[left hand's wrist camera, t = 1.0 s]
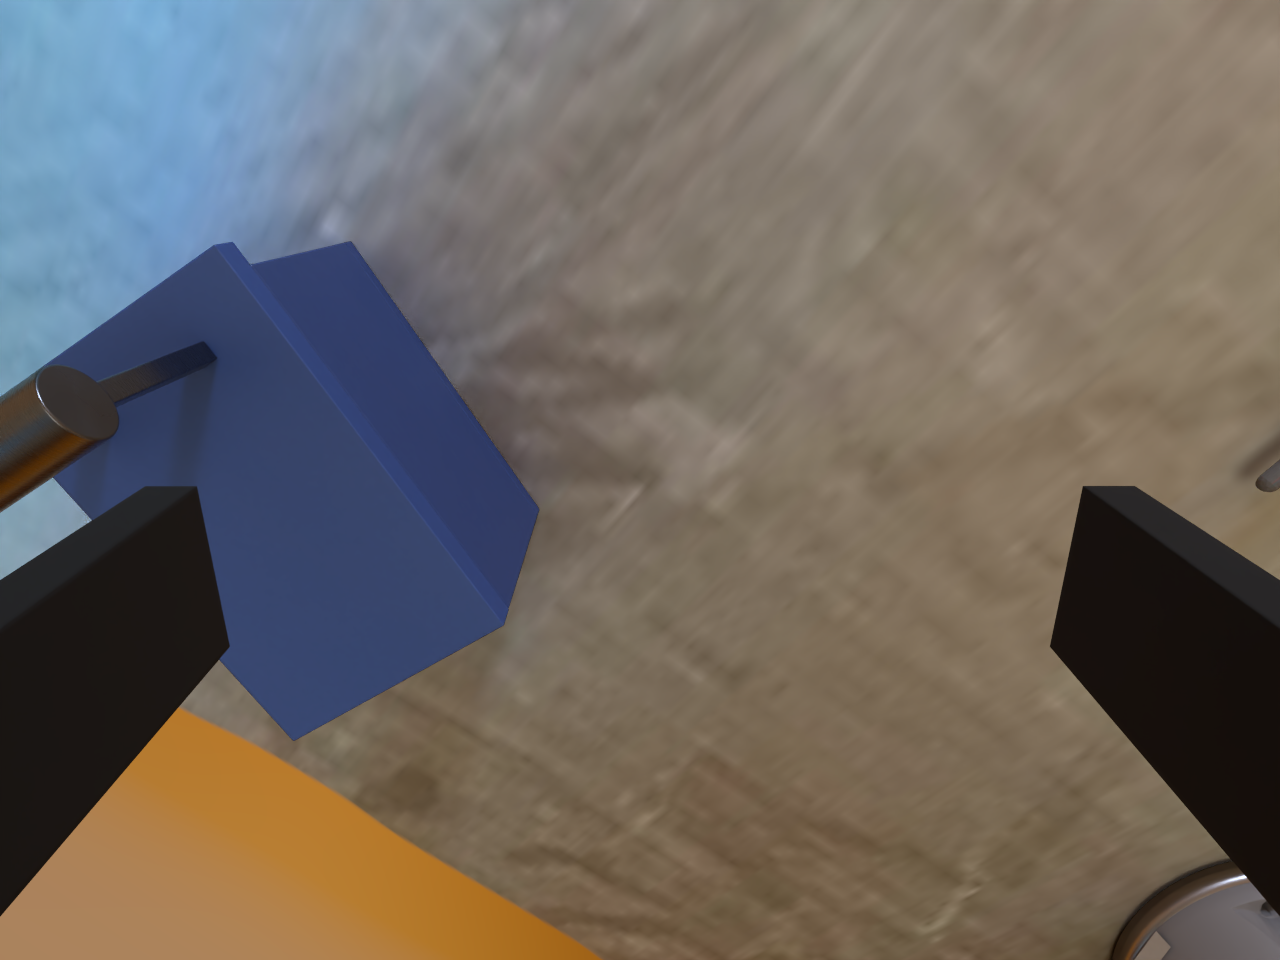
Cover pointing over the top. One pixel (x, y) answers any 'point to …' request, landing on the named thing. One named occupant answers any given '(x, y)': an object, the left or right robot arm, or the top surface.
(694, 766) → the top surface
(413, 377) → the chest
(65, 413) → the lid
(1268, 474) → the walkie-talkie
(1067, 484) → the top surface
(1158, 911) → the right robot arm
